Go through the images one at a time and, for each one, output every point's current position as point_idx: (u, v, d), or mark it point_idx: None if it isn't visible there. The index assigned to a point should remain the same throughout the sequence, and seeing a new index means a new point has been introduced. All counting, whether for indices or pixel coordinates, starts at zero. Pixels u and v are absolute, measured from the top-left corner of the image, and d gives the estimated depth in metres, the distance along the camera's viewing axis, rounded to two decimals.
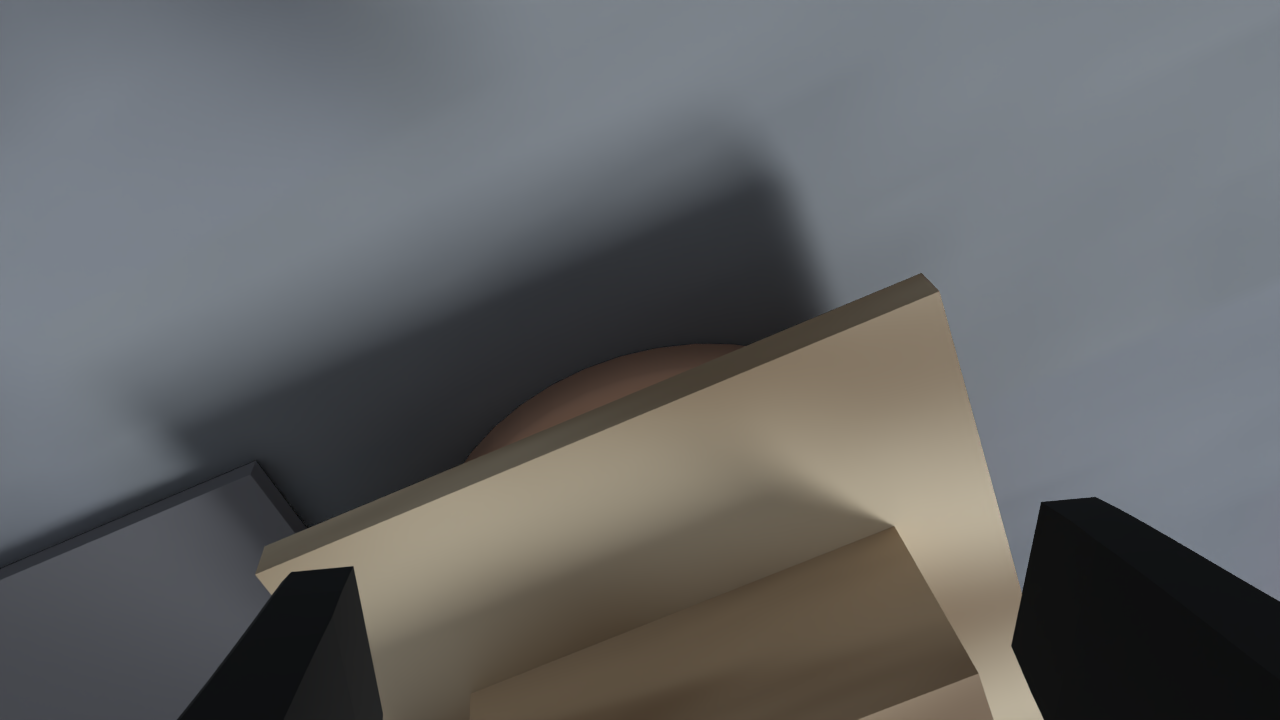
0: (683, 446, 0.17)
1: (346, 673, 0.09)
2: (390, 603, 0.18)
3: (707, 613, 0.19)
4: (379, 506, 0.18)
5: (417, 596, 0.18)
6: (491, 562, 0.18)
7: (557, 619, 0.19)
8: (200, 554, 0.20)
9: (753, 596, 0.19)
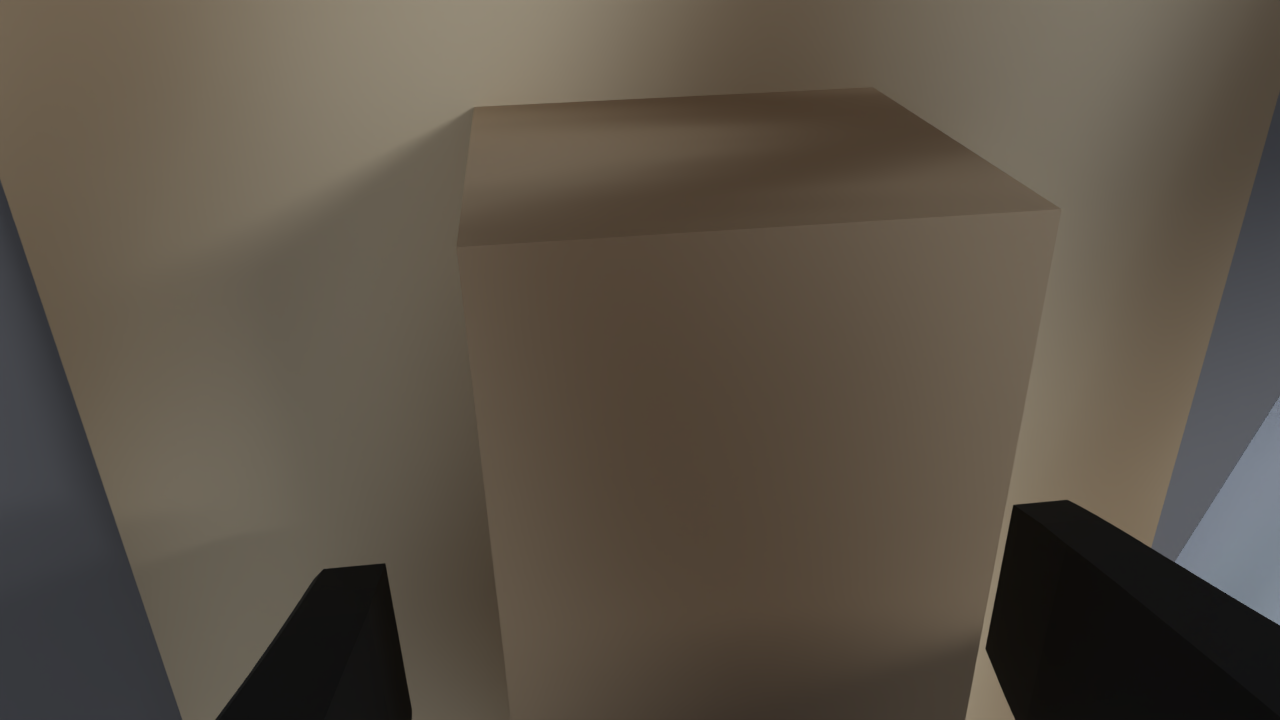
0: (171, 406, 0.11)
1: (380, 670, 0.09)
2: None
3: None
4: None
5: None
6: None
7: (451, 634, 0.12)
8: None
9: None
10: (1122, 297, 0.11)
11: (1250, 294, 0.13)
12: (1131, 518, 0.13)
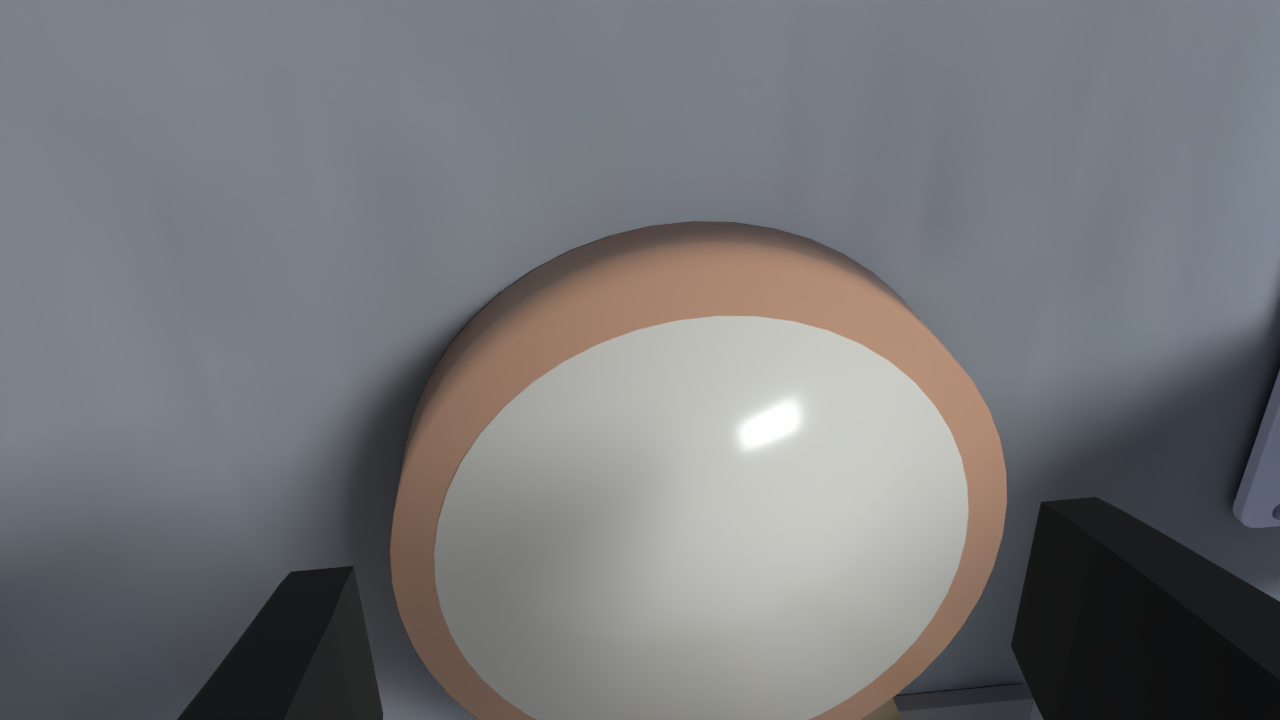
0: None
1: (346, 673, 0.09)
2: None
3: None
4: None
5: None
6: None
7: None
8: None
9: None
10: None
11: None
12: None
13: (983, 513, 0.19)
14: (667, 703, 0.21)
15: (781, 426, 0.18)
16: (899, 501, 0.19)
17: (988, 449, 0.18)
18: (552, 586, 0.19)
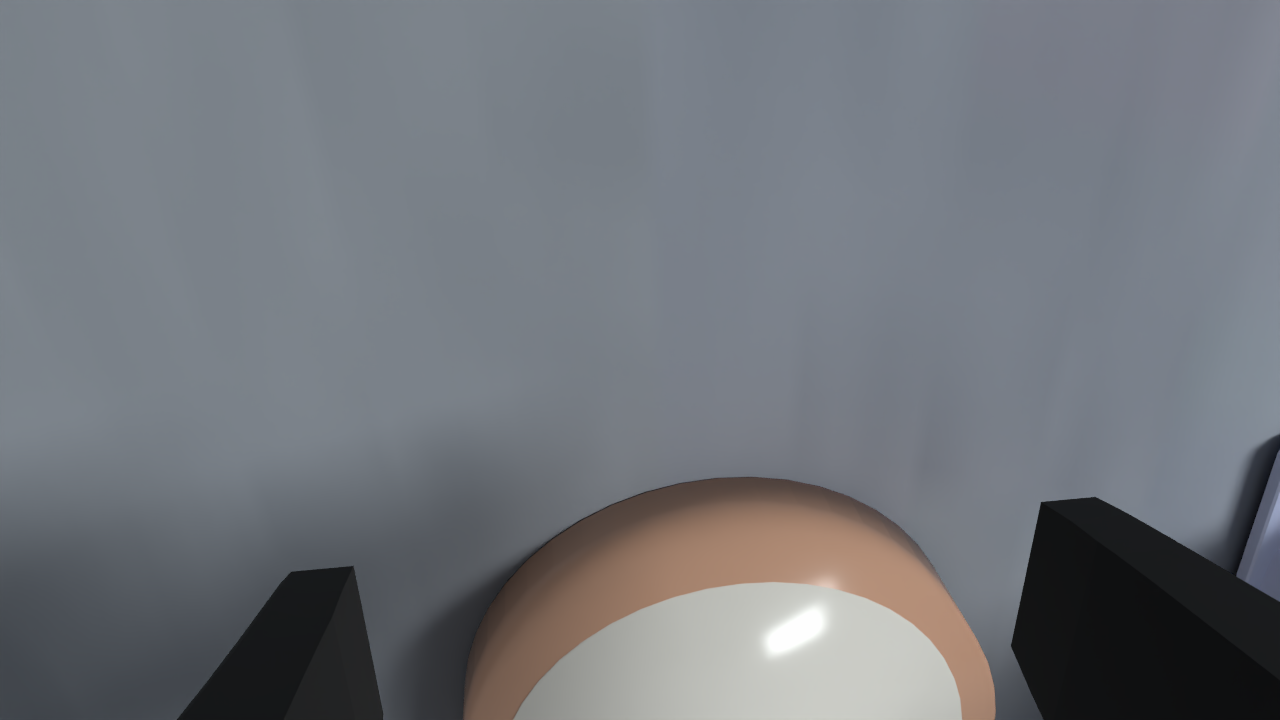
0: None
1: (346, 673, 0.09)
2: None
3: None
4: None
5: None
6: None
7: None
8: None
9: None
10: None
11: None
12: None
13: (975, 719, 0.22)
14: None
15: (797, 663, 0.20)
16: (901, 714, 0.21)
17: (978, 670, 0.21)
18: None
